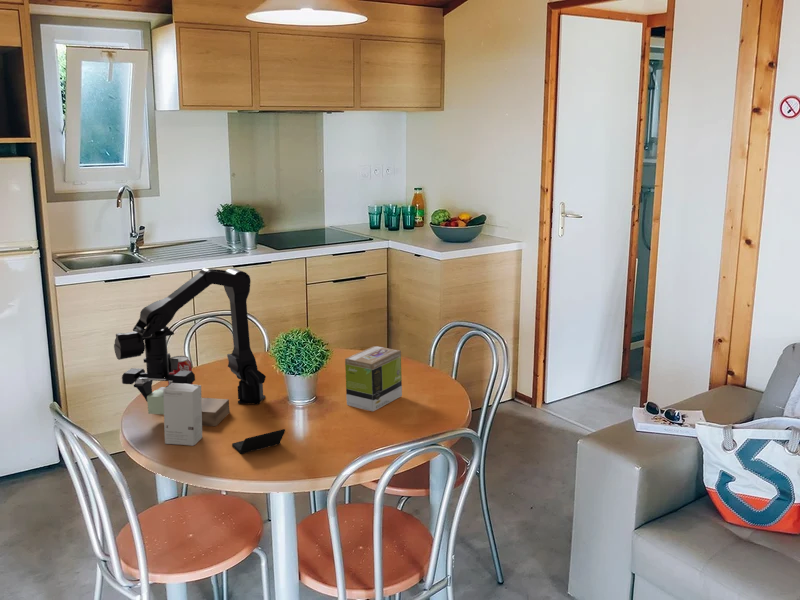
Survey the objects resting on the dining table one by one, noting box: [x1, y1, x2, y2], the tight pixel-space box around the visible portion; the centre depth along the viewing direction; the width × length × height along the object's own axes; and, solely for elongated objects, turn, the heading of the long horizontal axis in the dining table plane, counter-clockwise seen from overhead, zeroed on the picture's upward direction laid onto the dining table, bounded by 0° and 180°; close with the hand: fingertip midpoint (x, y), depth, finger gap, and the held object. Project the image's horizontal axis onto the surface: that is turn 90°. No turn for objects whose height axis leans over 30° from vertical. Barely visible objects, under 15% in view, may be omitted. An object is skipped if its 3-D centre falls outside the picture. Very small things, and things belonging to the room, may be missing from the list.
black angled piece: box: [231, 428, 286, 455], centre depth 194 cm, size 12×7×10 cm
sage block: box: [146, 389, 164, 416], centre depth 210 cm, size 5×5×5 cm
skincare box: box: [163, 383, 203, 446], centre depth 197 cm, size 8×6×15 cm
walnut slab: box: [201, 397, 231, 427], centre depth 213 cm, size 10×10×4 cm
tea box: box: [344, 345, 403, 412], centre depth 224 cm, size 15×10×15 cm, turn 146°
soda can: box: [167, 355, 194, 386], centre depth 228 cm, size 7×7×12 cm
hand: (160, 407), depth 210 cm, fingers closed on sage block, 5 cm apart
